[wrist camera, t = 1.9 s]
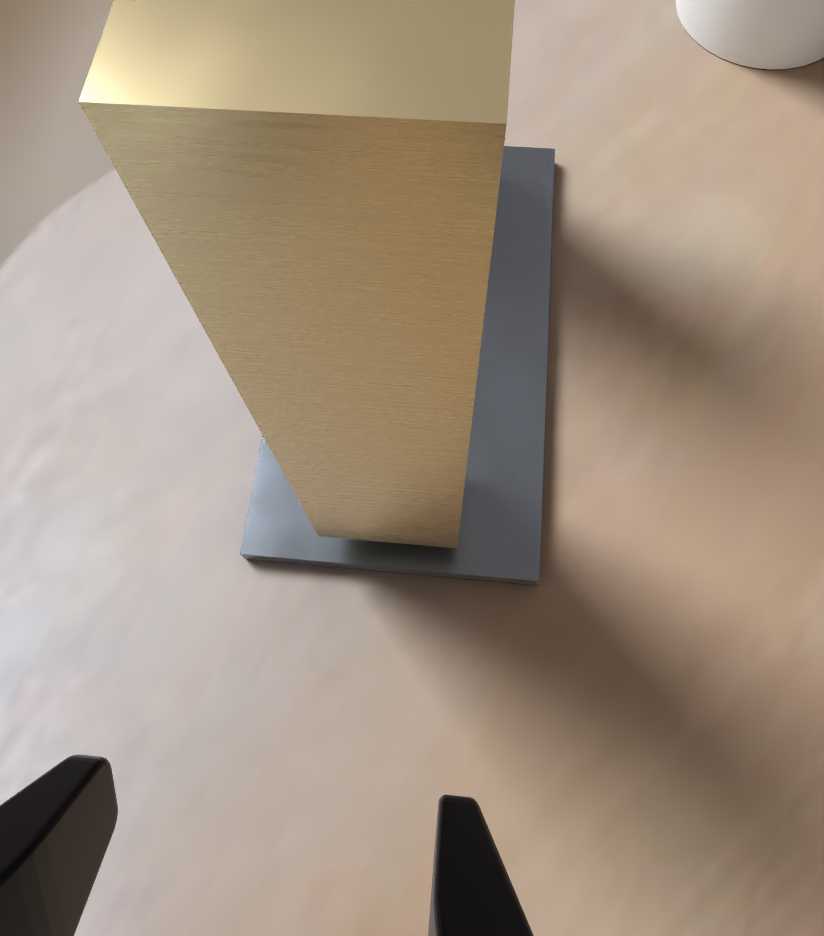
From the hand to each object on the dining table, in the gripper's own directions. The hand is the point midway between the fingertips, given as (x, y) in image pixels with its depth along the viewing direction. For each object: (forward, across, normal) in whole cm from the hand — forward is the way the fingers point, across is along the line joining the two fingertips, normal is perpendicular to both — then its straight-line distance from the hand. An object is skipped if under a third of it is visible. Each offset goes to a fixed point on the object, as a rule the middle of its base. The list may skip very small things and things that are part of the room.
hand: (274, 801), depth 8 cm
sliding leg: (+14, 0, +4) cm, 15 cm away
